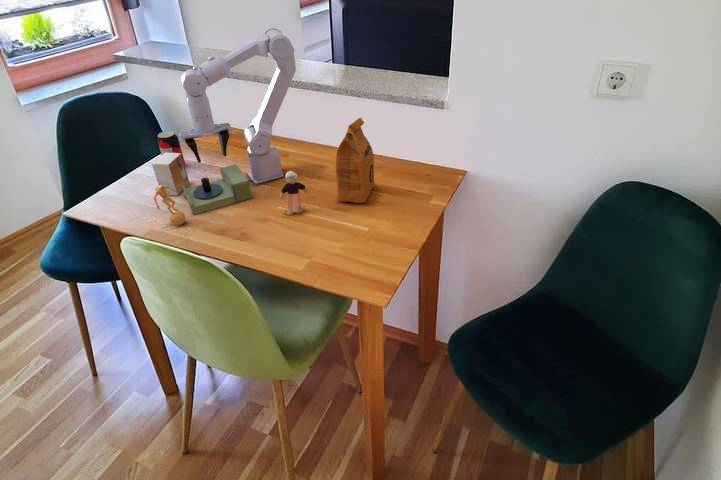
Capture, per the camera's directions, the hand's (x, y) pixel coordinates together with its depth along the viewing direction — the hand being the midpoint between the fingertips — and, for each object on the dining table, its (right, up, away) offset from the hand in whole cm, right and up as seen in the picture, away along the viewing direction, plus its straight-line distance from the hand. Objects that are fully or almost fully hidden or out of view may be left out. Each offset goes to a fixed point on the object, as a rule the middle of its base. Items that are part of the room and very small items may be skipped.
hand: (211, 158), depth 144 cm
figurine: (-6, -20, -11) cm, 24 cm away
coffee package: (+44, -11, -2) cm, 45 cm away
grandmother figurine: (+26, -17, -8) cm, 32 cm away
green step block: (+2, -12, 0) cm, 12 cm away
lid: (0, -11, -3) cm, 11 cm away
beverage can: (-17, -1, +17) cm, 24 cm away
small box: (-13, -9, +5) cm, 16 cm away
